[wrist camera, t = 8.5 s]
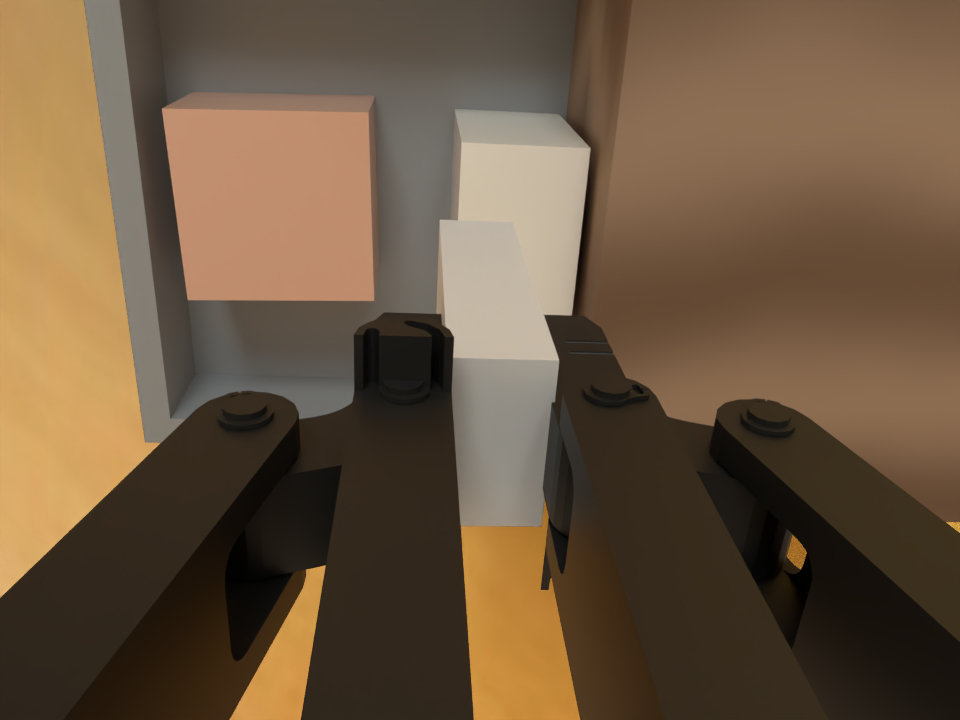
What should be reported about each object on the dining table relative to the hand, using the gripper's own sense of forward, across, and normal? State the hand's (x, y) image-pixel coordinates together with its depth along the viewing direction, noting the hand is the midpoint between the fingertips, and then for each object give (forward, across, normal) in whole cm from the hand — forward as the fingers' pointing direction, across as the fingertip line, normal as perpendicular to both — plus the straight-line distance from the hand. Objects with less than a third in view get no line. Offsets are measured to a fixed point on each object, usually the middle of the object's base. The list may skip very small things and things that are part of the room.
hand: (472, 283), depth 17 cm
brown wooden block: (+9, +10, 0) cm, 13 cm away
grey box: (+9, -3, 0) cm, 9 cm away
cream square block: (+5, +3, 0) cm, 6 cm away
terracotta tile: (+5, -5, 0) cm, 7 cm away
